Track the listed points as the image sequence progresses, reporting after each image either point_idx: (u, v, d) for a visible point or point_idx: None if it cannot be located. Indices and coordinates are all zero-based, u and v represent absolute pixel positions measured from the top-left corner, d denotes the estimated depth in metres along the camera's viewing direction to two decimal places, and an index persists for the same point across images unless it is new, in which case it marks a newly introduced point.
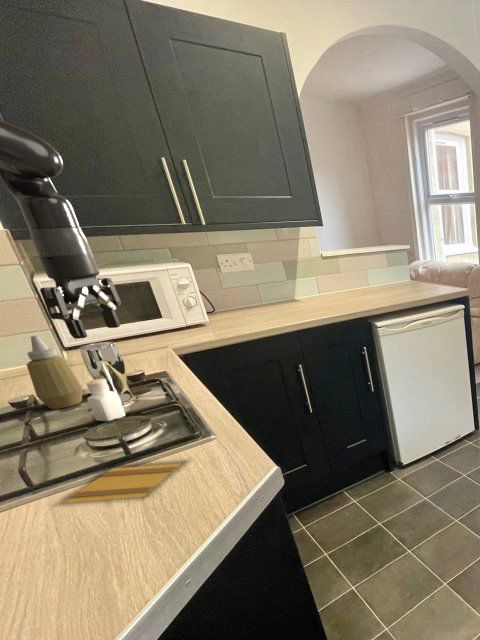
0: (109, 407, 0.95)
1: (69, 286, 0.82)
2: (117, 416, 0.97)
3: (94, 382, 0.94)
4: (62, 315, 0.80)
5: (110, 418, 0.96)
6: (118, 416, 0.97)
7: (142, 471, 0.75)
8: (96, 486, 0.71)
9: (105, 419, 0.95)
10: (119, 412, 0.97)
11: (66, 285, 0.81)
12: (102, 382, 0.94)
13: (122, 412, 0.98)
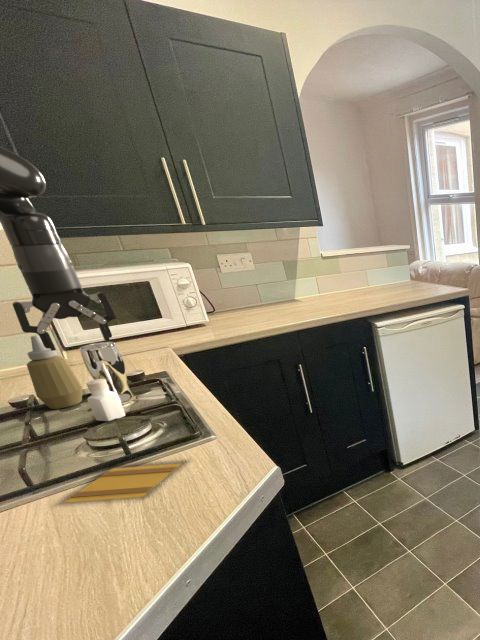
0: (109, 407, 0.95)
1: (38, 301, 0.84)
2: (117, 416, 0.97)
3: (94, 382, 0.93)
4: (22, 329, 0.83)
5: (110, 418, 0.96)
6: (118, 416, 0.97)
7: (142, 471, 0.75)
8: (96, 486, 0.71)
9: (105, 419, 0.95)
10: (119, 412, 0.97)
11: (34, 300, 0.84)
12: (102, 382, 0.94)
13: (122, 412, 0.98)
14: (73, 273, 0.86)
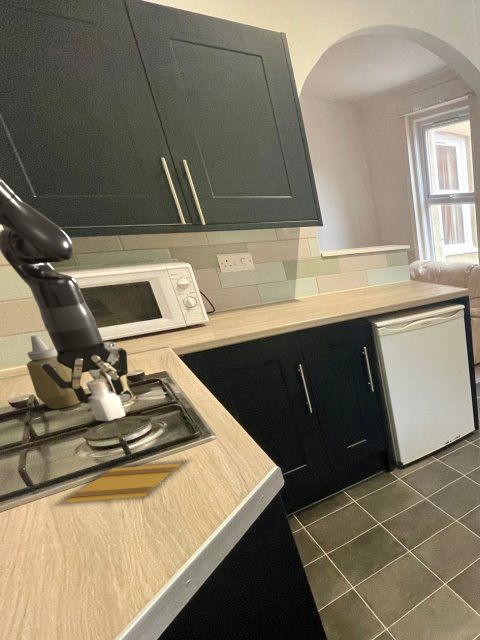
0: (109, 407, 0.95)
1: (62, 358, 0.89)
2: (117, 416, 0.97)
3: (94, 382, 0.94)
4: None
5: (110, 418, 0.96)
6: (118, 416, 0.97)
7: (142, 471, 0.75)
8: (96, 486, 0.71)
9: (105, 419, 0.95)
10: (119, 412, 0.97)
11: (59, 358, 0.88)
12: (102, 382, 0.94)
13: (122, 412, 0.98)
14: (95, 329, 0.91)
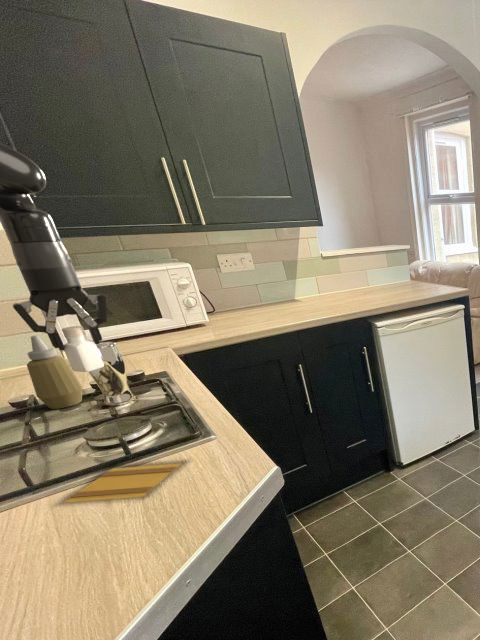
0: (86, 355, 0.90)
1: (35, 299, 0.83)
2: (95, 366, 0.92)
3: (70, 328, 0.88)
4: None
5: (87, 367, 0.90)
6: (96, 366, 0.92)
7: (142, 471, 0.75)
8: (96, 486, 0.71)
9: (82, 368, 0.90)
10: (97, 362, 0.92)
11: (32, 299, 0.83)
12: (79, 328, 0.89)
13: (100, 362, 0.93)
14: (72, 271, 0.86)
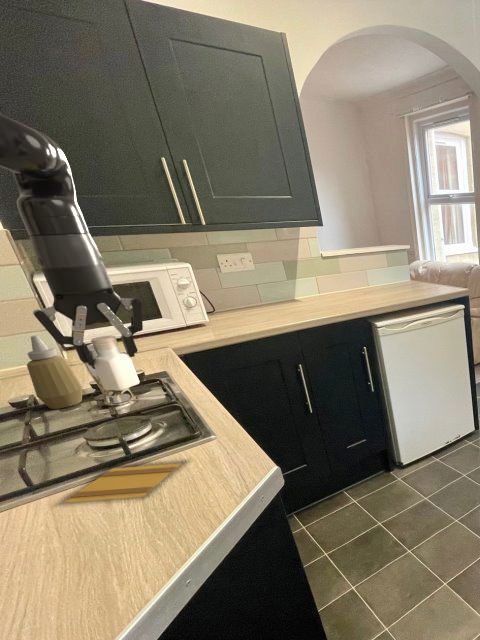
0: (119, 371, 0.75)
1: (60, 305, 0.69)
2: (129, 383, 0.77)
3: (101, 338, 0.74)
4: (57, 342, 0.69)
5: (121, 385, 0.76)
6: (131, 383, 0.77)
7: (142, 471, 0.75)
8: (96, 486, 0.71)
9: (115, 386, 0.75)
10: (132, 379, 0.78)
11: (56, 304, 0.68)
12: (111, 339, 0.74)
13: (136, 379, 0.78)
14: (103, 269, 0.71)
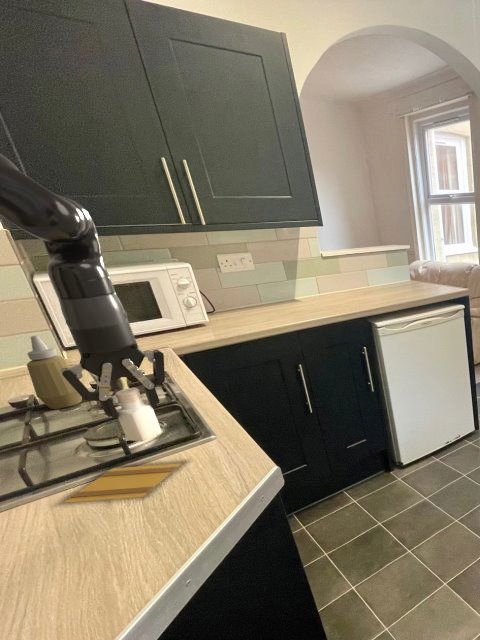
0: (142, 422, 0.77)
1: (87, 363, 0.71)
2: (152, 433, 0.79)
3: (125, 392, 0.75)
4: None
5: (144, 436, 0.78)
6: (153, 433, 0.79)
7: (142, 471, 0.75)
8: (96, 486, 0.71)
9: (138, 437, 0.77)
10: (154, 429, 0.79)
11: (83, 363, 0.70)
12: (135, 392, 0.76)
13: (158, 428, 0.80)
14: (128, 327, 0.73)
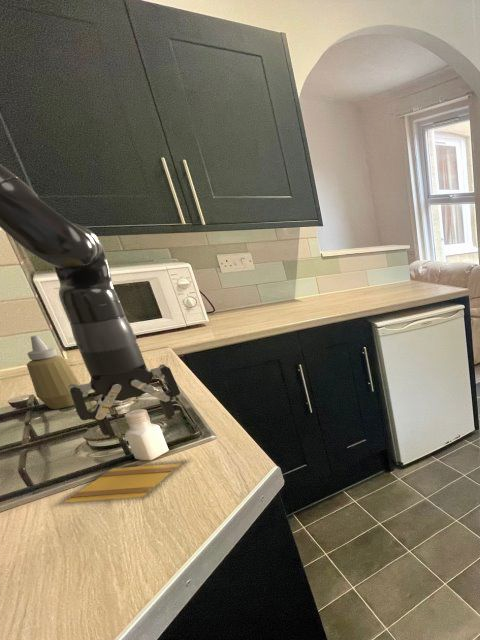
0: (151, 443, 0.79)
1: (97, 384, 0.72)
2: (160, 453, 0.81)
3: (134, 414, 0.77)
4: None
5: (152, 456, 0.79)
6: (161, 453, 0.81)
7: (142, 471, 0.75)
8: (96, 486, 0.71)
9: (146, 458, 0.79)
10: (162, 449, 0.81)
11: (94, 383, 0.72)
12: (143, 414, 0.78)
13: (165, 448, 0.82)
14: (137, 348, 0.75)
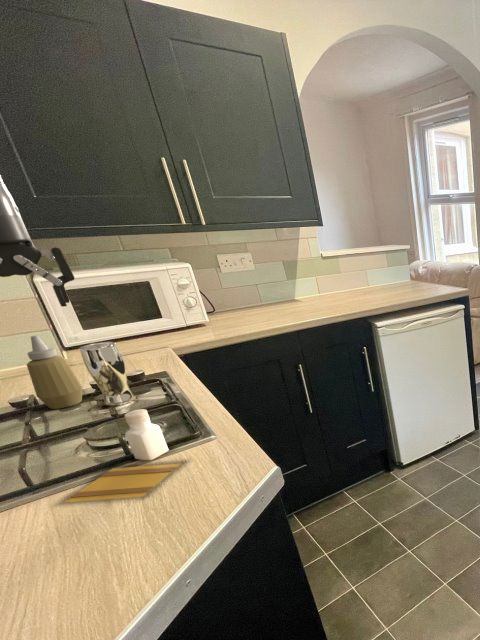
0: (151, 443, 0.79)
1: None
2: (160, 453, 0.81)
3: (134, 414, 0.77)
4: None
5: (152, 456, 0.79)
6: (161, 453, 0.81)
7: (142, 471, 0.75)
8: (96, 486, 0.71)
9: (146, 458, 0.79)
10: (162, 449, 0.81)
11: None
12: (143, 414, 0.78)
13: (165, 448, 0.82)
14: (19, 221, 0.71)
